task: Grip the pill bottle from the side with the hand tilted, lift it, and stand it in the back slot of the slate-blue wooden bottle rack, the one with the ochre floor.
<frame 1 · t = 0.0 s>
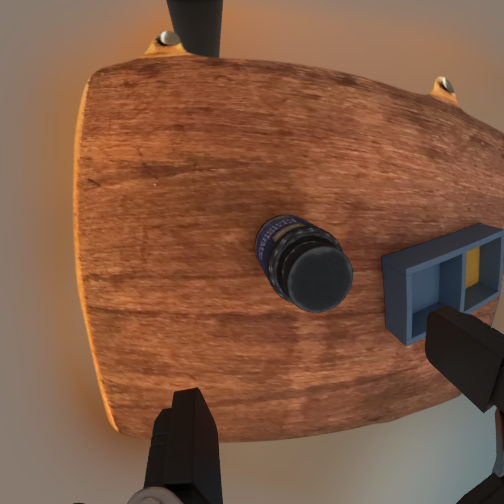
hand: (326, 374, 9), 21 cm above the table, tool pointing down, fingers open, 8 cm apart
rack: (439, 272, 33), on the table
pill bottle: (283, 244, 30), on the table
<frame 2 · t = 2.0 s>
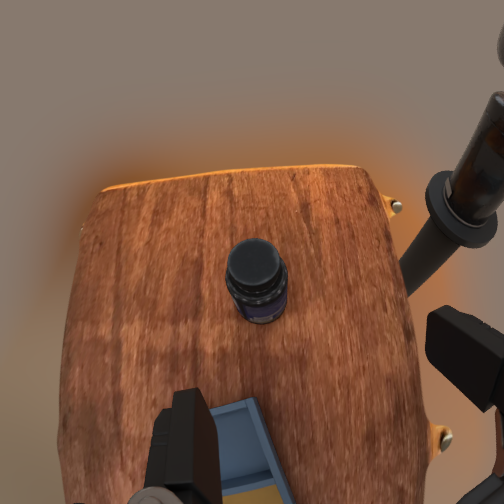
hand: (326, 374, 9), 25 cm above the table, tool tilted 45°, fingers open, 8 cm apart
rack: (241, 478, 26), on the table
pill bottle: (261, 301, 36), on the table
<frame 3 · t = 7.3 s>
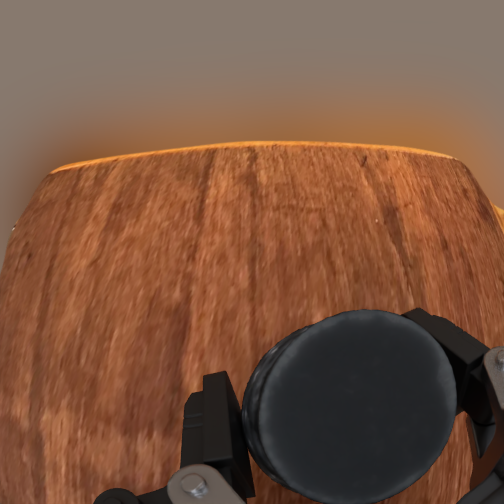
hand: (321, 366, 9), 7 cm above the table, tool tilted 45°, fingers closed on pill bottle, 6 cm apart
pill bottle: (310, 410, 15), on the table, touching gripper
when the fingers open (8 cm above the table, at t = 17.2 s): pill bottle stays where it is, resting on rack.
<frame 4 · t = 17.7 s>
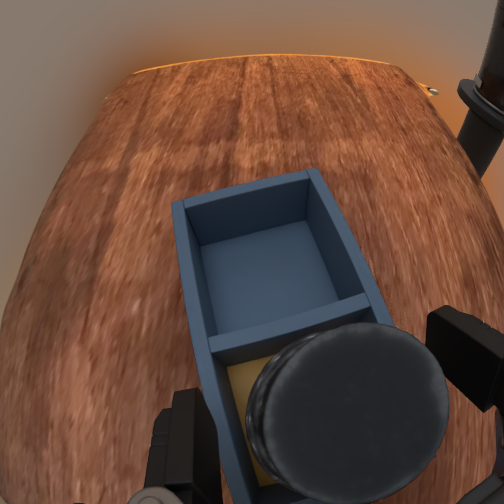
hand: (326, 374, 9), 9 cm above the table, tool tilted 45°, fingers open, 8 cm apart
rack: (287, 345, 18), on the table
pill bottle: (311, 412, 15), point 1 cm above the table, touching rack
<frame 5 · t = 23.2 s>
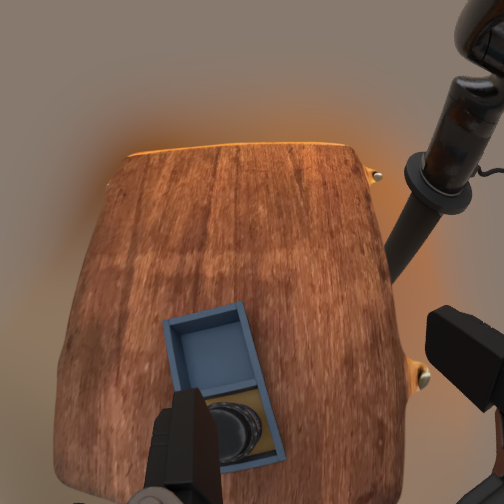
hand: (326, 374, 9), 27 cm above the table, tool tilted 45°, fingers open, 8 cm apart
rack: (226, 392, 33), on the table
pill bottle: (235, 427, 30), point 1 cm above the table, touching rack
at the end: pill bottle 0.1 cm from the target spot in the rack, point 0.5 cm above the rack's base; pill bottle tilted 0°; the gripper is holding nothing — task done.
